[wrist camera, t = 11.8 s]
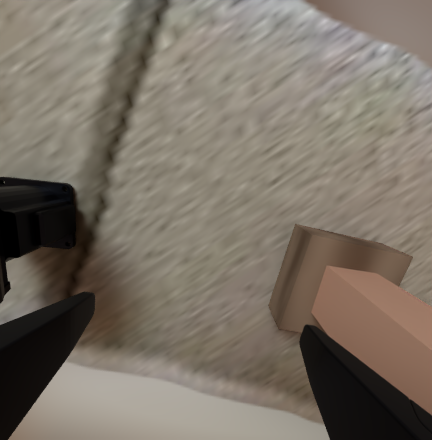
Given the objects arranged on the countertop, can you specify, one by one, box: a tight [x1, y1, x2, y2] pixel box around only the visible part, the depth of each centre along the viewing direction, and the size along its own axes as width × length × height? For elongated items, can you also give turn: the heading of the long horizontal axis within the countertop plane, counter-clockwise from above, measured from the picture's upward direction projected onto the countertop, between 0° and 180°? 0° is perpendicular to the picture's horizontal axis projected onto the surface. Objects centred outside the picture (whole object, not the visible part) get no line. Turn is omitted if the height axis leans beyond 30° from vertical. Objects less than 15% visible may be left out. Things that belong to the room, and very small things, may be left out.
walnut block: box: [268, 224, 413, 334], centre depth 22 cm, size 10×10×4 cm
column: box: [311, 266, 432, 415], centre depth 13 cm, size 5×5×13 cm
